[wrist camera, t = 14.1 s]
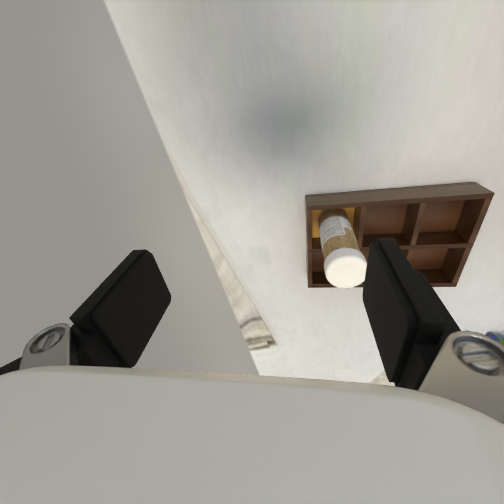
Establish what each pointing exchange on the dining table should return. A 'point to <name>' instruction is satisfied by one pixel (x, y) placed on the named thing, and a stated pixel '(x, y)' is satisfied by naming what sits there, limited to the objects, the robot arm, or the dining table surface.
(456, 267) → the tray
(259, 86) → the dining table surface
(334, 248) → the sprinkles bottle
